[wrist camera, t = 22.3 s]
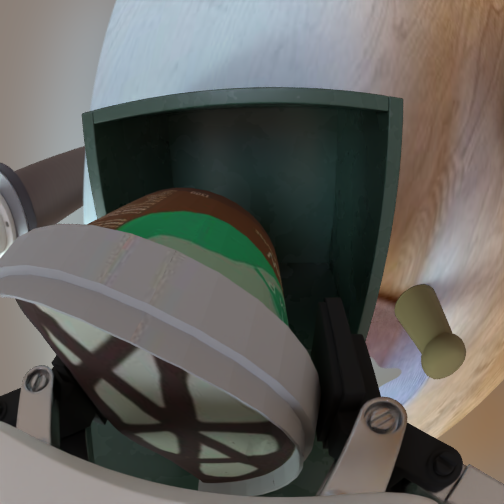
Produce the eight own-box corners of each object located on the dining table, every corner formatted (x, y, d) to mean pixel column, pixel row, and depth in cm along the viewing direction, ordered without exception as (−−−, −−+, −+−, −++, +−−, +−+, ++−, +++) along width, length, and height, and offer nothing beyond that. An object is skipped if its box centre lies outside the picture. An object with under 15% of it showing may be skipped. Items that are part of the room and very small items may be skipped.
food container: (323, 331, 17) (346, 493, 8) (228, 352, 18) (203, 501, 9) (255, 117, 11) (202, 134, 3) (134, 167, 13) (-33, 277, 4)
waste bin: (161, 107, 24) (81, 113, 12) (344, 102, 22) (403, 98, 11) (179, 263, 31) (136, 347, 20) (334, 265, 30) (361, 355, 19)
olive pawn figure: (417, 327, 34) (445, 389, 24) (385, 315, 33) (412, 384, 23) (443, 292, 31) (482, 352, 21) (413, 277, 30) (453, 342, 20)
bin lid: (31, 551, 3) (87, 570, 6) (415, 600, 2) (370, 600, 4) (132, 347, 19) (151, 398, 22) (363, 355, 18) (347, 406, 20)
